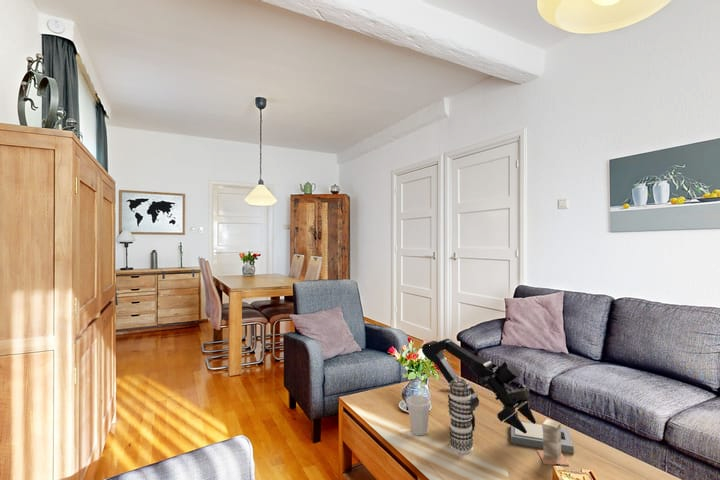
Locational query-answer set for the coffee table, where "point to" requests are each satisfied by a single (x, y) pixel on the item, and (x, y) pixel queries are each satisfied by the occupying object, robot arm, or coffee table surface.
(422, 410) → the cup
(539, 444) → the puzzle board
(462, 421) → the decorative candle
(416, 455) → the coffee table surface
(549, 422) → the block
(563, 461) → the pad
